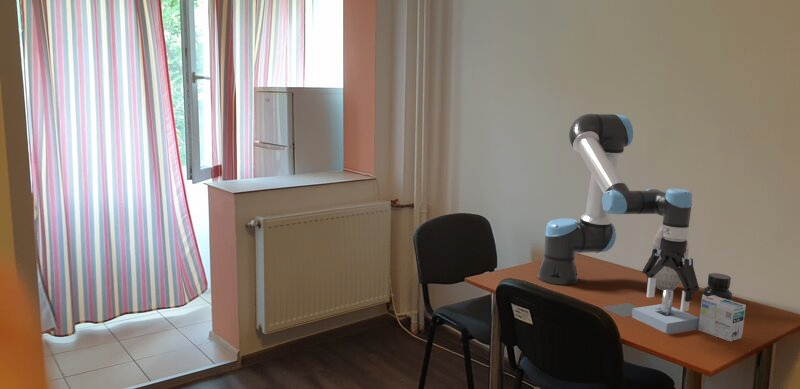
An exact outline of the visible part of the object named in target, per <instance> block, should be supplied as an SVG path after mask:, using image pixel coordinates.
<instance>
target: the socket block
mask: <svg viewBox="0 0 800 389" xmlns="http://www.w3.org/2000/svg"><path fill="white" fill-rule="evenodd" d="M661 306H662V303H660V304H659V303H657V304H653V305H646V306H639V307H638V308H633V311H632V316H631V318H633V319H635V320H637V321H639V322H641V323H643V324H646V325H648V326H649V327H652V328H654V329H657V330H658V331H660V332H662V333H663V334H664V335H670V334H671V335H672V334H676V333H682V332H688V331H694V330H698V326H699V318H700V317H698V316H695V315H693V314H691V313H689V312H687V311H680V309H678V308H676V307H674V306H672V309H671V316H664V315H662V314H661Z"/></svg>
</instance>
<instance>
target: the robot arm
mask: <svg viewBox="0 0 800 389" xmlns="http://www.w3.org/2000/svg"><path fill="white" fill-rule="evenodd" d="M568 133H569V134H568V138H569V143H570V145H571V147H572V149H573V150H574V152H576V153H578V154H579V155H580V156H581V158H582V159H583V161H584V163H585V165H586V166H587V168H588V170H589V172H590V173H591V174H590V180H589V188H588V192H587V193H588V194H587V200H586V201H587V202H586V206H585V208H586V209H585V213H583V214H582V215H581V216H580V220H579V221H578V220H576V219H574V218H565V217H564V218H556V219H551V220H550V221H548V222H547V224H546V227H545V232H544V234H545V237H544V249H543V251H544V252H543V259H542V262H541V264H540V267H539V269H538V271H537V278H538V280H540V281H543V282H546V283H548V284H554V285H562V286H563V285H564V286H565V285H566V286H567V285H574V284H576V283H578V281H579V279H578V278H579V275H578V270H577V265H576V263H575V258H576V254H579V253H580V254H581V253H582V254H583V253H584V254H585V253H587V254H588V253H597V254H599V253H606V252H608V251H609V250H611V249H612V248H613V246H614V245H615V243H616V238H617V232H616V227H615V225H614V224H612V222H613V220H612V219H611V218H610V217H609V215H610V214H611V215H620V216H621V215H652V214H653V215H658V216H660V217H661V216H662V217H663V219H662V225H663V227H662V236H663V237H662V238H661V244H660V248H657V249H653V251H652V255H651V254H650V257H649V258H648V260H647V262H646V263H645V266H644V267H643V269H642V271H641V272H642V274H645V276H646V283H645V284H646V287H647V288H646V298H653V297H655V293H656V277H653V276H655V275H656V274H657V273H658V272H659V271H660V270H661V269H662V268H663V267H664V266H666V267H670V268H672V269H674V270H675V271H676V272H677V274H678V276H679V278H680V280H681V282H680V283H681V285H682V287H683V290H682V294H681V301H680V309H679V310H680V311H684V312H688V311H689V310H690V302H692V300H693V292H697V291H700V286H699V283H698V279H697V275H696V272H695V269H694V259H693V258H691V257H690V258H688V259H687V258H685V257H684V253H685V252H686V247H687V241H686V239H687V240H689V239H688V237H689V230H690V219H691V211H692V206H693V202H692V201H693V194H692V192H691V190H688V189H682V188H668V189H666V192H665V191H661V190H659V189H657V188H655V189H654V188H647V189H645V190H630V189H629V187H628V185H627V184H626V183H625V181H624V180H623V178H622V177H621V175H620V174H619V172H618V170H617V168H618V160H619V157H620V156H621V155H622V154H624V152H625V151H624V150H625V147H628V146H630V145H631V143H632V141H633V138H634V128H633V124H632V122H631V121H630V119H629V117H627V116H625V115H622V114H616V113H611V114H610V113H586V114H582V115H581V116H579V117H577V118H576V119H575V120H574V121H573V123H572V124H571V126H570V128H569V132H568ZM660 256H661V259H660V260H659V261H658V262H657V260H658V258H659V257H660ZM656 262H657V264H656ZM655 264H656V265H655ZM654 265H655V266H654ZM679 267H680V268H679Z"/></svg>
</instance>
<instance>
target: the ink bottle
mask: <svg viewBox="0 0 800 389" xmlns="http://www.w3.org/2000/svg"><path fill="white" fill-rule="evenodd" d="M731 280H732V277H731V276H730V275H728V274H724V273H717V272H710V273H708V278H707V286H706V287H704V288H703V291H702V297H701V299H702V298H703V297H708V296H712V295H715V296H717V297H720V298H724V299H727V300H731V301H733V293H732V291H731V290H730V288H731V287H730V286H731Z"/></svg>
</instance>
